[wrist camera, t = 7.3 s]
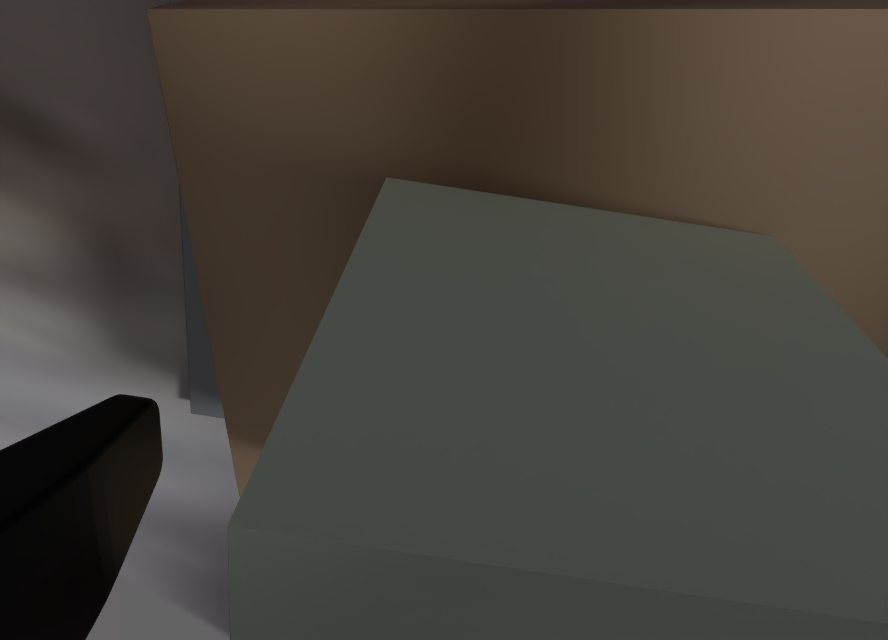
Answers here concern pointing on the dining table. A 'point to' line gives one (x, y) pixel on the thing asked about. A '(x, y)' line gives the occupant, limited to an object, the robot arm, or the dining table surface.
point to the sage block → (569, 439)
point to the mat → (198, 333)
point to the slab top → (509, 140)
